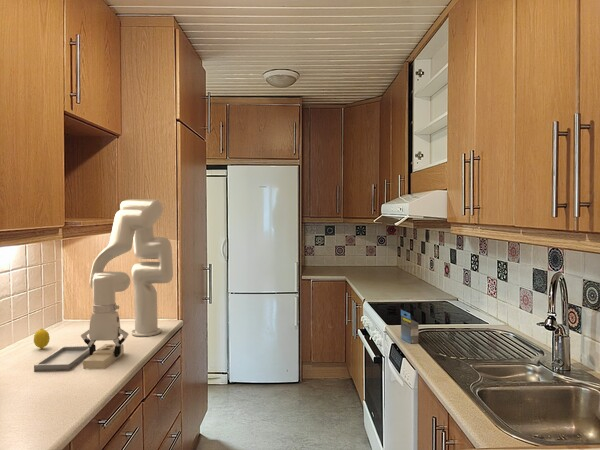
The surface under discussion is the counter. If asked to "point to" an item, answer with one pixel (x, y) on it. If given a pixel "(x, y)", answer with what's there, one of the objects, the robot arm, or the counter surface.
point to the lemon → (41, 338)
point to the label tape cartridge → (408, 328)
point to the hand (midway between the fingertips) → (105, 356)
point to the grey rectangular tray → (63, 359)
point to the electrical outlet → (102, 357)
